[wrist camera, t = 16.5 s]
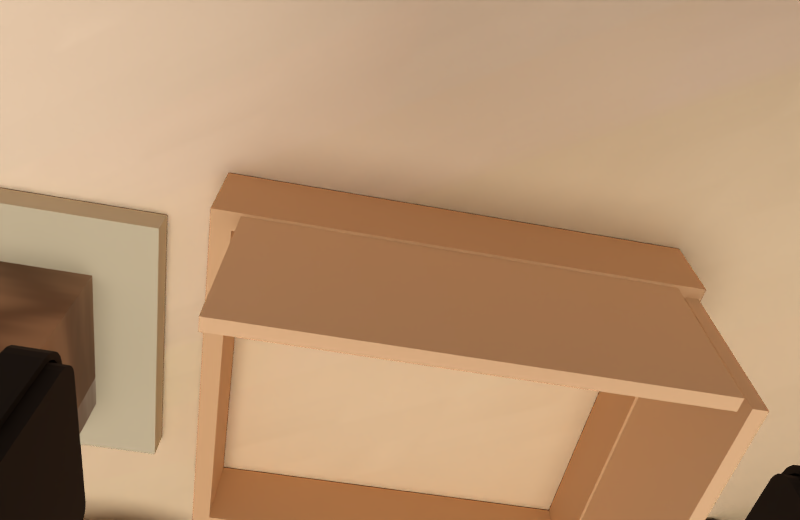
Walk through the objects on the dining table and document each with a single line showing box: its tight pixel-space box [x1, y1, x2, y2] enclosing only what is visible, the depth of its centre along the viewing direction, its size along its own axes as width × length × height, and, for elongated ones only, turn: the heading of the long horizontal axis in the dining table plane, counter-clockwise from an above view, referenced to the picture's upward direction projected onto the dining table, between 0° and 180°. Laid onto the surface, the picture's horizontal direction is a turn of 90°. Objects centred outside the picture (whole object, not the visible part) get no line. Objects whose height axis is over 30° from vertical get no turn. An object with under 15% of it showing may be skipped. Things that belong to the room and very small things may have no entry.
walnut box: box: [0, 261, 96, 433], centre depth 37 cm, size 5×9×7 cm, turn 169°
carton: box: [192, 173, 769, 520], centre depth 38 cm, size 24×22×12 cm
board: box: [0, 188, 167, 454], centre depth 41 cm, size 12×16×2 cm
